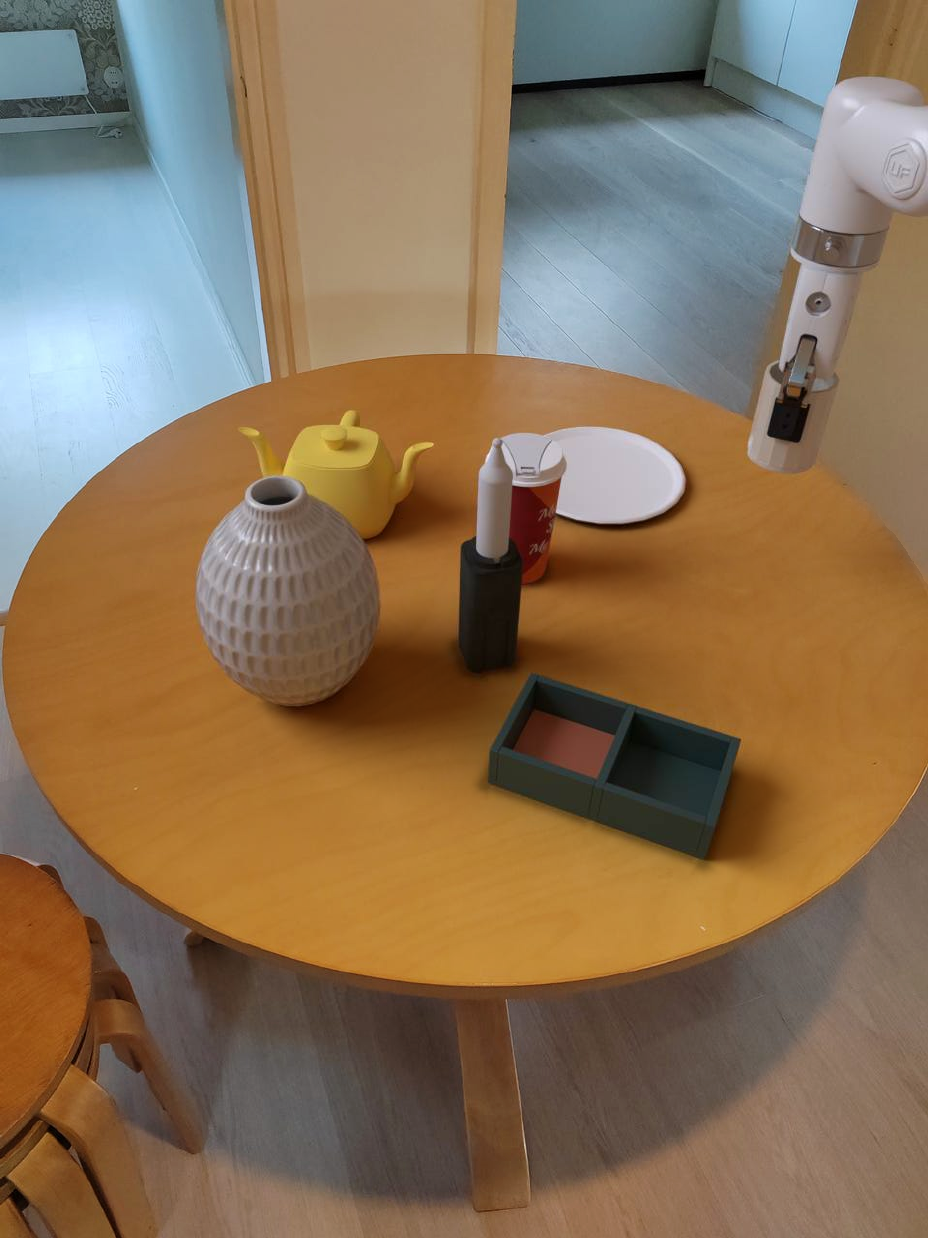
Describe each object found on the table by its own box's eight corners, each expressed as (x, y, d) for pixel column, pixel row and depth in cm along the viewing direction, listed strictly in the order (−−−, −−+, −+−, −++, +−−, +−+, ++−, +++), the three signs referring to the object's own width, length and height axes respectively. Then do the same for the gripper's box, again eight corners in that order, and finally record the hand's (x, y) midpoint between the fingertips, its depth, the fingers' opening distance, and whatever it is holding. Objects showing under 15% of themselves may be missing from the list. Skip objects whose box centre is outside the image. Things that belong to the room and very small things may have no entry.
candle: (469, 675, 96) (476, 459, 79) (455, 639, 100) (460, 426, 83) (518, 665, 97) (536, 450, 81) (503, 631, 101) (517, 418, 84)
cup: (820, 446, 102) (843, 366, 96) (809, 480, 97) (833, 398, 91) (754, 431, 104) (773, 352, 98) (740, 464, 99) (759, 383, 93)
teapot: (444, 475, 121) (444, 397, 114) (425, 553, 110) (424, 472, 103) (270, 460, 123) (259, 382, 116) (233, 536, 112) (219, 455, 104)
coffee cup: (557, 592, 106) (570, 475, 96) (480, 590, 106) (485, 473, 96) (553, 543, 112) (565, 429, 102) (481, 541, 112) (485, 427, 102)
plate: (679, 439, 129) (681, 431, 128) (689, 537, 113) (691, 528, 112) (520, 427, 130) (521, 419, 129) (509, 522, 115) (509, 514, 114)
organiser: (730, 772, 88) (741, 738, 85) (704, 860, 81) (715, 827, 78) (528, 705, 94) (531, 671, 91) (487, 783, 87) (489, 749, 84)
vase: (294, 773, 87) (264, 582, 72) (180, 684, 95) (132, 494, 80) (418, 675, 96) (415, 487, 81) (305, 601, 104) (283, 416, 89)
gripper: (870, 285, 79) (814, 473, 91) (894, 213, 90) (841, 388, 102) (776, 268, 81) (733, 454, 93) (811, 201, 93) (769, 373, 105)
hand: (790, 418), depth 98 cm, fingers closed on cup, 6 cm apart
